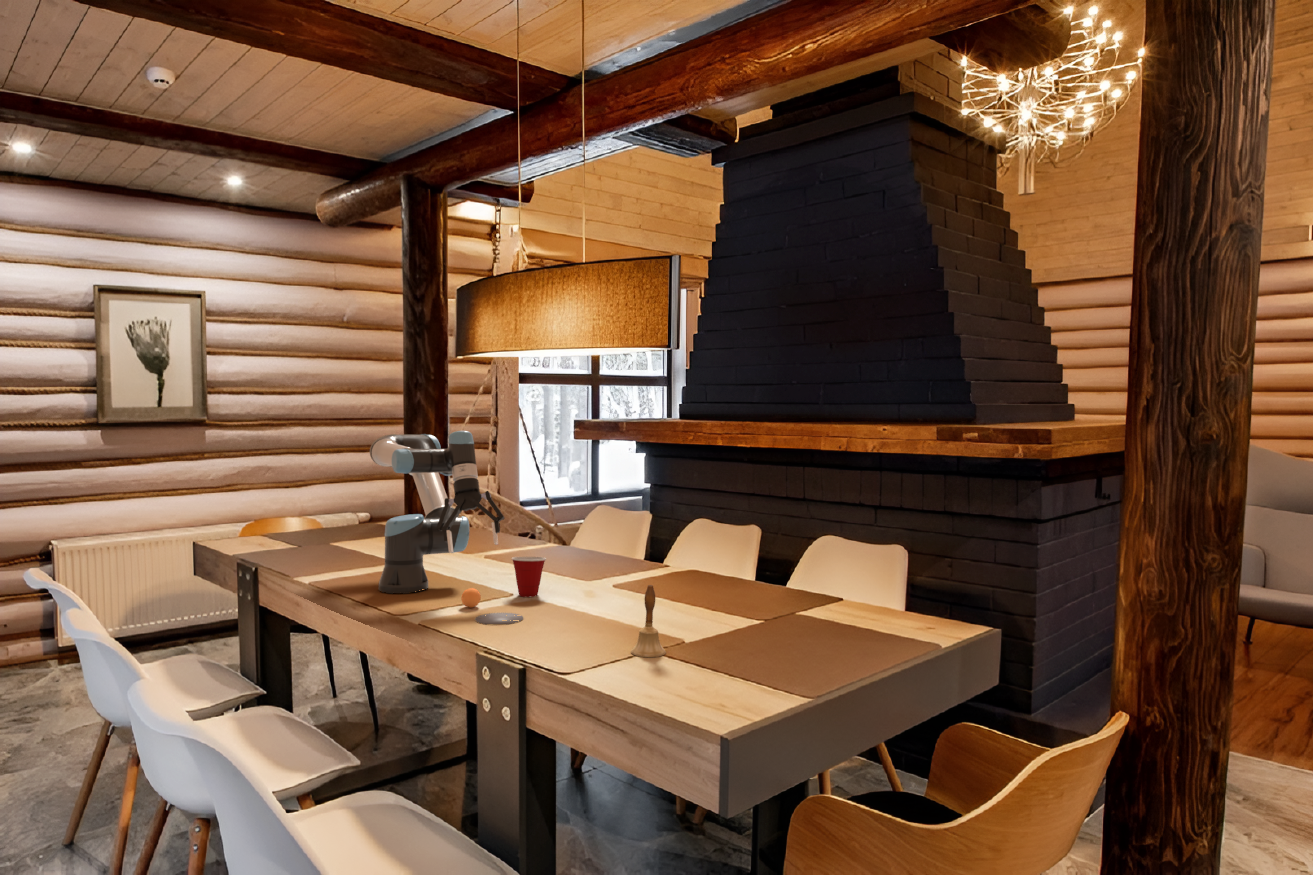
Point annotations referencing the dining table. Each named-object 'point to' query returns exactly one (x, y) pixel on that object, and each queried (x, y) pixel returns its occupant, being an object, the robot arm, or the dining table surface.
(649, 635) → the hand bell
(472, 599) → the ball
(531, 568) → the plastic cup
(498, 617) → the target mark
